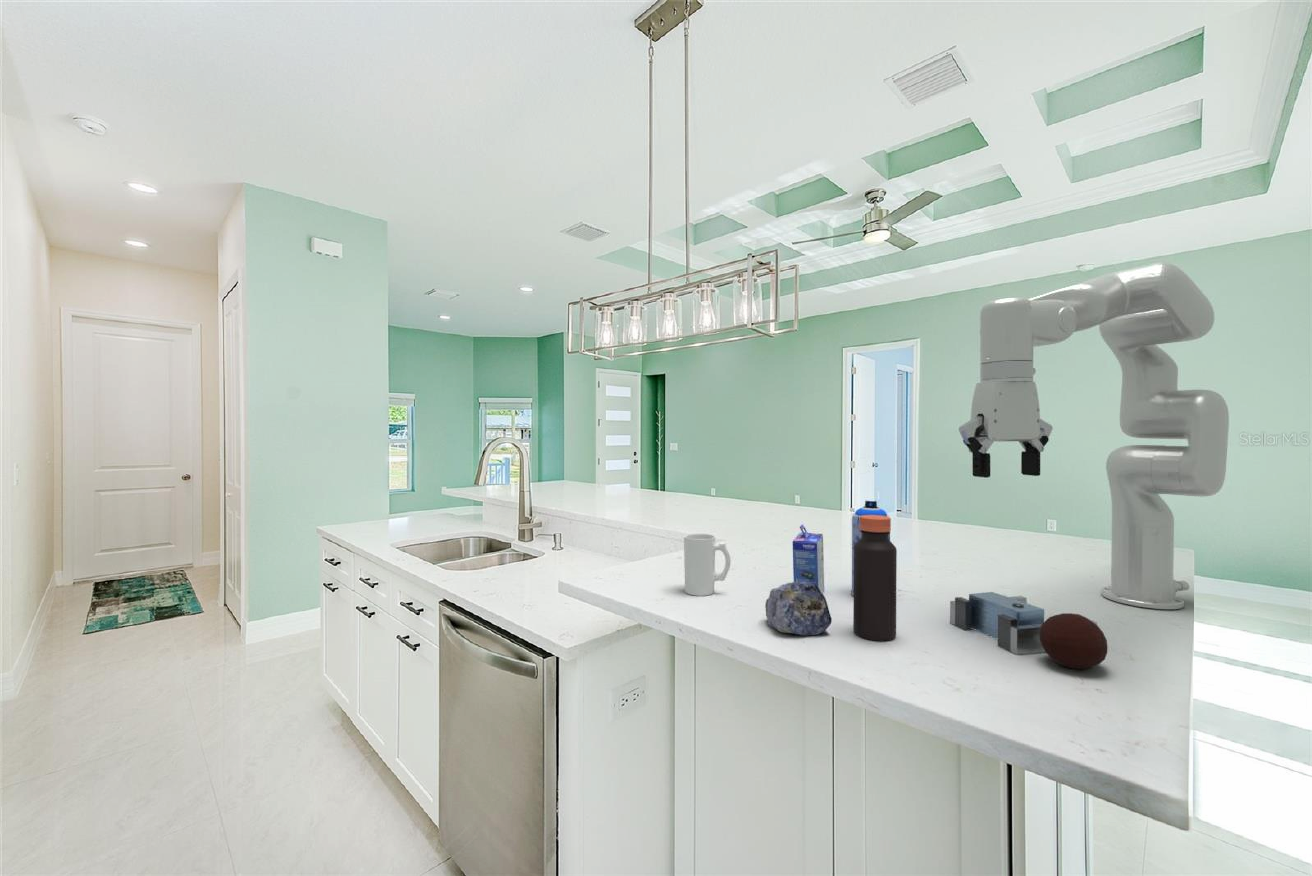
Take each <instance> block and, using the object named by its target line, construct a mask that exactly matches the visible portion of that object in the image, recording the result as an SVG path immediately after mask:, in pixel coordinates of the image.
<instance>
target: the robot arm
mask: <svg viewBox="0 0 1312 876" xmlns="http://www.w3.org/2000/svg"><path fill="white" fill-rule="evenodd" d="M979 315H980V319H979V320H980V322H979V323H980V325H979V326H980V327H979V328H980V329H979V335H980V337H979V338H980V340H979V343H980V346H979V347H980V349H979V352H980V356H979V359H980V361H979V362H980V367H979V369H980V370H979V371H980V377H979V378H980V382H978V383H977V382H976V383H975V386H974V391H973V396H972V401H971V410H970V419H969V421H967V422H965V423H964V424H962V425H960V426H959V428H958V431H959V434H960V436H961V438H962V439H963V440H962V441H963V444H964V445H965V446H966V447H967V449H968V452H969V453H972V456H971V457H972V458H971V459H972V476H973V477H977V478H990V477H991V454H990V452H989V453H988V450H989V449H990V448H991V446H992V445H993V443H995V442H1018V443H1019V444H1020V446H1021V447H1022V448H1023V449H1024V451H1021V454H1020V457H1021V463H1020V464H1021V465H1020V468H1021V469H1020V471H1021V473H1020V474H1022V475H1024V476H1032V477H1039V476H1041V453H1043V452H1044V451H1045V446H1046V445H1047V443H1048V442H1049V440H1050V439H1049V437H1050V436H1051V434H1052V431H1053V429H1054V428H1053V426H1052V424H1049V422H1046V421H1045V420H1043V419H1042V418H1041V411H1040V409H1041V408H1040V401H1039V394H1038V389H1037V383H1036V381H1034V375H1035V374H1036V372H1037V371H1036V368H1034V348H1035V347H1041V346H1050V345H1055V344H1059V343H1061V342H1063V341H1066V340H1067V339H1069V338H1070V337H1071V336H1072V335H1073V334H1074V333H1076V332H1082V331H1085V330H1088V329H1091V328H1094V327H1096V326H1099V333H1100V337H1101V338H1102V340H1103V341H1104V343H1105V344H1106V345H1107V346H1108V348H1109V349H1110V350H1111V352H1112V354H1113V355H1114V357H1115V358H1116V359H1117V361H1118V363H1119V365H1120V368H1121V374H1122V375H1121V377H1122V378H1121V394H1120V406H1119V426H1120V429H1121V431H1122V433H1124V434H1125V435H1126V436H1128V437H1131V438H1136V439H1151V440H1152V439H1154V440H1155V439H1158V440H1160V439H1161V440H1186V441H1187V445H1165V444H1164V445H1159V444H1158V445H1157V444H1133V445H1132V444H1131V445H1124V446H1120V447H1118V448H1115V449H1114V450H1112V451H1111V452H1110V453H1109V455H1107V458H1106V463H1105V471H1106V475H1107V479H1108V484H1109V485H1108V486H1109V489H1110V498H1111V499H1110V501H1111V543H1110V544H1111V545H1110V546H1111V548H1110V549H1111V551H1110V552H1111V553H1110V555H1111V558H1110V559H1111V560H1110V563H1111V564H1110V569H1111V570H1110V586H1105V587H1103V588H1101V592H1100V593H1101V595H1102V596H1103V597H1104V598H1106V599H1108V600H1110V601H1114V602H1117V603H1120V604H1124V605H1128V606H1129V605H1130V606H1134V607H1139V608H1145V609H1155V610H1179V609H1183V608H1184V606H1185V601H1184V600H1183V599H1182V598H1180V597H1179V596H1176V595H1177V594H1176V593H1177V592H1183V591H1188V590H1189V589H1190V584H1189V583H1188V582H1187V581H1185V580H1176V579H1174V558H1175V557H1174V555H1175V551H1174V550H1175V547H1174V544H1175V517H1174V514H1173V511H1172V509H1171V508H1170V506H1169V505H1168V504H1167V503H1166V501H1164V499H1163V498H1162V497H1161V495H1174V496H1187V497H1211V496H1214V495H1216V494H1217V493H1219V492H1220V491H1221V489H1222V488H1223V486H1224V483H1225V479H1226V471H1227V461H1228V460H1227V458H1228V456H1227V455H1228V442H1229V429H1230V428H1229V427H1230V415H1229V412H1230V411H1229V409H1228V408H1229V407H1228V404H1227V402H1226V400H1225V398H1224V397H1223V396H1222V394H1220V393H1218V392H1217V391H1214V390H1210V389H1185V390H1183V389H1182V390H1181V389H1179V390H1178V381H1179V379H1178V376H1179V367H1178V364H1177V363H1176V362H1175V360H1174V359H1173V358H1172V357H1171V356H1170V354H1168V352H1166V351H1165V350H1163V349H1162V348H1161V347H1159V346H1158V345H1163V344H1173V343H1181V342H1182V343H1183V342H1189V341H1195V340H1199V339H1201V338H1203V337H1204V336H1206V335H1207V334H1209V333H1210V332H1211V330H1212V328H1213V325H1214V323H1215V311H1214V307H1213V305H1212V303H1211V301H1210V299H1209V298H1208V297H1207V296H1206V295H1205V294H1204V292H1203V291H1202V290H1201V289H1200V288H1199V287H1198V285H1196V283H1195V282H1194V280H1192V278H1190V276H1189V275H1188V274H1186V273H1185V272H1184V271H1183V270H1182V269H1181V268H1180V267H1178V266H1176V265H1174V264H1172V263H1170V262H1166V261H1165V262H1161V261H1160V262H1154V263H1150V264H1145V265H1140V266H1136V267H1132V268H1128V269H1123V270H1119V271H1117V270H1116V271H1113V272H1109V273H1105V274H1102V275H1099V276H1097V277H1094V278H1089V279H1088V280H1085V281H1083V282H1079V283H1076V284H1072V285H1070V286H1067V287H1063V288H1059V289H1056V290H1054V291H1051V292H1048V293H1045V294H1042V295H1038V296H1036V297H1033V298H1024V297H1007V298H1006V297H1005V298H999V299H994V300H991V301H989V302H986V303H985V304H984V305H983V306H982V307H981V310H980V314H979Z"/></svg>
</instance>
